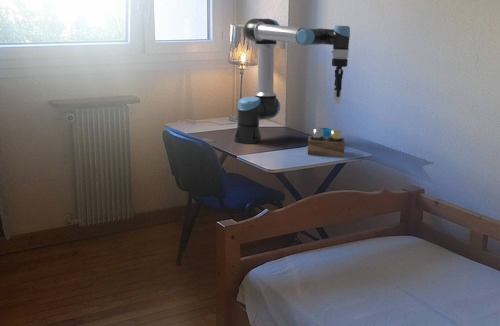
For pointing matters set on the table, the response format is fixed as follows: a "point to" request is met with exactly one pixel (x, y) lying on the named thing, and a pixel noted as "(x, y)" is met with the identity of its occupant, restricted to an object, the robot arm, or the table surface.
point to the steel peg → (317, 134)
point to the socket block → (326, 147)
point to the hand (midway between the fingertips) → (336, 101)
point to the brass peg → (335, 135)
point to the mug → (326, 132)
